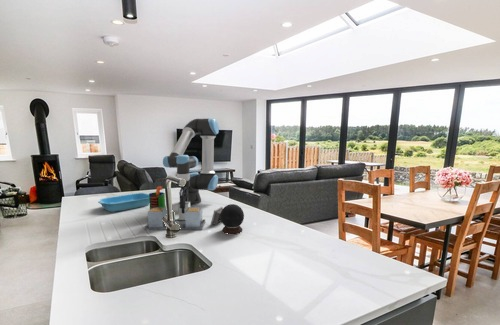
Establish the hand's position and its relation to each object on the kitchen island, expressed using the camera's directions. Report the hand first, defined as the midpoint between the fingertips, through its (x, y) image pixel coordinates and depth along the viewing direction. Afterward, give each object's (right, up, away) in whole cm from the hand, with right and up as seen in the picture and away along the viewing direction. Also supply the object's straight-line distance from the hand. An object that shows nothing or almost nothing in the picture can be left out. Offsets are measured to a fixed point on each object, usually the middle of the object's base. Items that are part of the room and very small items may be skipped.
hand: (184, 216), depth 165 cm
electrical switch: (+22, -3, -6) cm, 23 cm away
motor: (-18, -2, +4) cm, 19 cm away
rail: (-2, -3, -12) cm, 13 cm away
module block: (0, -1, 0) cm, 1 cm away
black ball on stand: (+31, -5, -18) cm, 36 cm away
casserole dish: (-50, +1, +28) cm, 57 cm away
